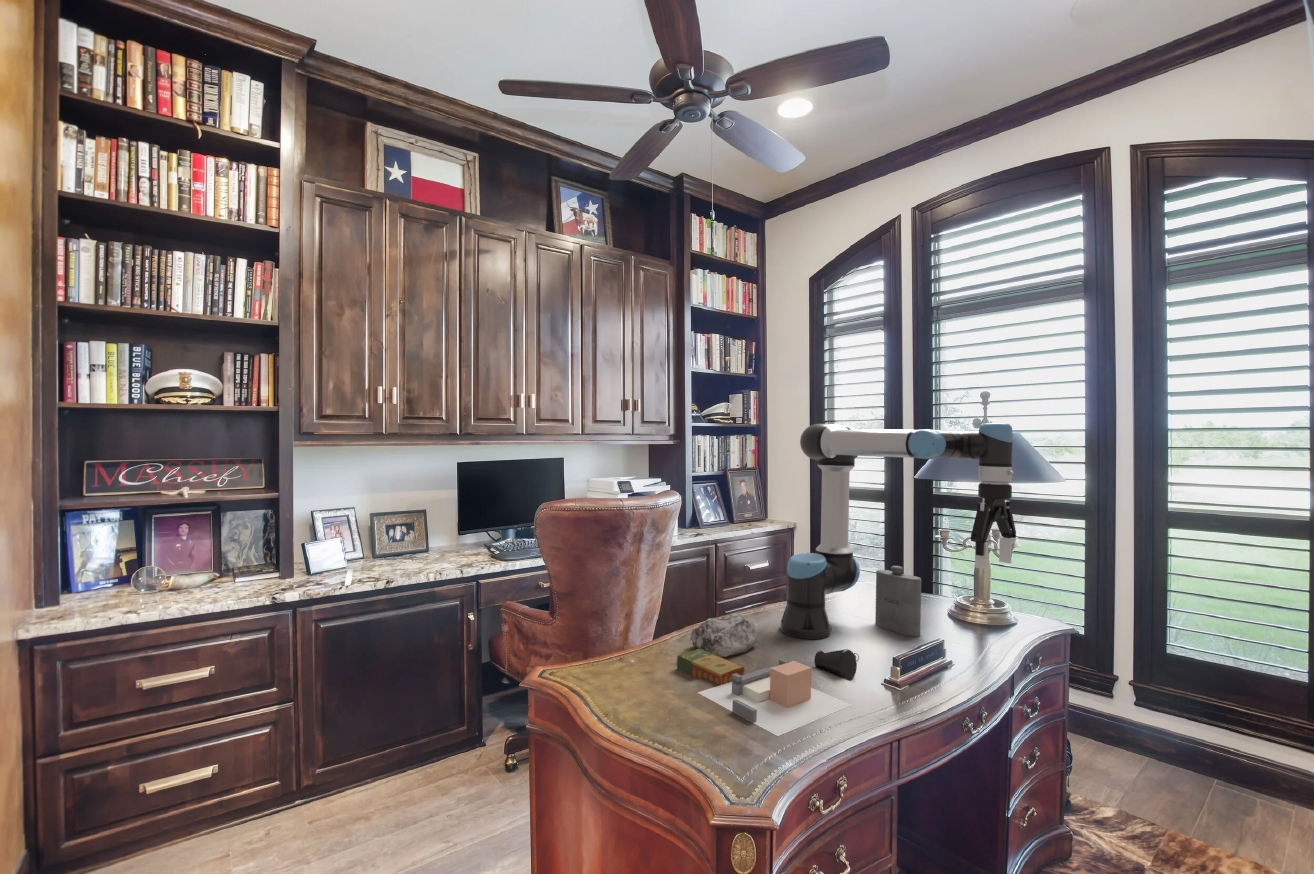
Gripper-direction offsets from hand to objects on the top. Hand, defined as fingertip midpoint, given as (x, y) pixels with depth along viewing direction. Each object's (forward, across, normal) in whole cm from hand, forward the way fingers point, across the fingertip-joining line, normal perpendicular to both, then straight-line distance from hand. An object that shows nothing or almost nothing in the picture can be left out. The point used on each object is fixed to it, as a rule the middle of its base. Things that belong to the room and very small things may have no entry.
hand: (993, 565), depth 152 cm
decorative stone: (+28, -43, +52) cm, 73 cm away
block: (+27, -57, +18) cm, 66 cm away
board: (+28, -60, +20) cm, 69 cm away
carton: (+29, -61, +40) cm, 79 cm away
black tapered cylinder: (+28, -29, +23) cm, 47 cm away
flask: (+28, +13, +34) cm, 46 cm away
